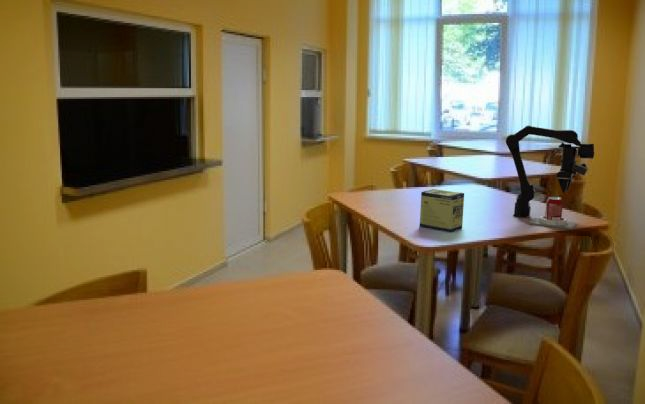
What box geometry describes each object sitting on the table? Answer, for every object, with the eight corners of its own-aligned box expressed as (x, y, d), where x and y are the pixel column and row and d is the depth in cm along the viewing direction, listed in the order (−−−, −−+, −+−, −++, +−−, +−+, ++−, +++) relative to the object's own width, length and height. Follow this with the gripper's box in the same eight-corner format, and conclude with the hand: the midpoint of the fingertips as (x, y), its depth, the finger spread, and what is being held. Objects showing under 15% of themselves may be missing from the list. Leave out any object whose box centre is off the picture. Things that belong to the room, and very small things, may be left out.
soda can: (562, 226, 258) (564, 199, 256) (546, 225, 259) (548, 198, 257) (559, 223, 264) (561, 197, 262) (543, 222, 266) (545, 196, 263)
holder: (529, 224, 261) (529, 218, 260) (534, 219, 271) (535, 213, 271) (572, 229, 252) (573, 223, 252) (576, 224, 262) (577, 218, 262)
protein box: (451, 232, 244) (453, 196, 241) (418, 226, 254) (420, 191, 251) (463, 228, 252) (465, 192, 249) (431, 223, 262) (432, 188, 259)
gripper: (585, 161, 256) (581, 196, 259) (590, 157, 272) (587, 190, 275) (558, 159, 262) (554, 193, 264) (564, 155, 277) (561, 188, 280)
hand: (565, 191), depth 271 cm, fingers open, 9 cm apart
